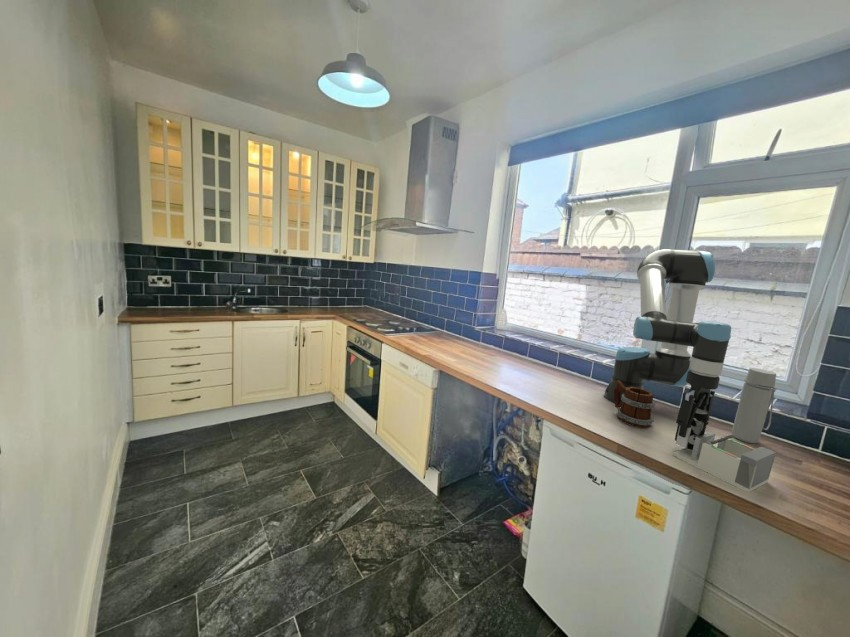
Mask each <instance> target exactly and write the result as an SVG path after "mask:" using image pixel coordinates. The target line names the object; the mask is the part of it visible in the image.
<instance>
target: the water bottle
mask: <svg viewBox="0 0 850 637" xmlns="http://www.w3.org/2000/svg"><path fill="white" fill-rule="evenodd" d="M776 379H777V373H776V372H773V371H771V370H767V369H761V368H755V367H750V368H748V371H747V374H746V377H745V379H744V383H743V387H742V390H741V394H740V398H739V403H738V405H737V406H738V407H737V411H736V413H735V416H734V417H735V418H734V422H733V425H732V430H731V435H733V436H734V437H733V438H735V439H737V440H739V441H742V442H744V443H748V444H758V443H759V442H760V439H761V436H762V433H763V432H762V431H763V430H765V431H768V430H769V428H770V426H771V424H772V414H773V406H774V397H775V393H776V391H777V390H778V388H777V387H775V386H776ZM769 409H770V411H769ZM768 412H769V413H768ZM768 414H769V420H768V424H767V426H766V428H765V427H764V426H765V423H766V419H767V415H768Z"/></svg>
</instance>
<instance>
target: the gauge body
mask: <svg viewBox="0 0 850 637" xmlns="http://www.w3.org/2000/svg"><path fill="white" fill-rule="evenodd" d="M723 437H724V436H721V437H720V438H723ZM725 441H726V443H725V447H724V450H722V449H719V448H717V446H714V445H713V446H711V445H708V444H706V443H703V444H702V448H701V453H700V457H699V459H697V460H694V459H692V458H691V455H692V451H693V450H690V449H687V448H682V449H679V450H676V451H673V452H672V456H673V455H674V456H673V457H675V456H676V457H675V458H678V459H679V460H682V461H684V462H685V463H688V464H689V465H691V466H693V467H696V468H698V469H699V470H701V471H704V472H706V473H707V472H708V473H707V474H710V475H711V476H713V477H716V478H718V479H719V480H722V481H724V482H726V483H728V484H730V485H732V486H734V487H735V488H738V489H740V490H742V491H744V492H746V493H750V492H752V491H754V490H756V489H758V488H759V487H762V486H763V485H765V484H767V483H769V479H770V475H771V471H772V468H773V464H774V461H775V457H776V453H777V452H776V451H774V450H771V449H769V448H766V447H763V446H759V447H757V448H754V447H752V446H750V445H747V444H744V443H743V442H742V443H741V442H739V441H737V440H734V439H733V438H730V439H727V440H725Z"/></svg>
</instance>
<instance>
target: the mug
mask: <svg viewBox="0 0 850 637" xmlns="http://www.w3.org/2000/svg"><path fill="white" fill-rule="evenodd" d="M616 383H617V387H615V389H614V400H615V403H614V407H615V408H617V412H616V415H617V418H618V419H619V421H620V422H622V423H624V424H626V425H629V426H632V427H635V428H641V429H644V428H645V429H646V428H650V427H651V425H652V424H653V422H654V421H655V420H654V419H653V417H652V410H653V408H655V406H656V403H655V401H654V393H652V392H651V391H649V390H647V389H645V388H643V389H639V388H636V387H627V388H626V387H624V386H623V384H622V382H621V381H620V380H617V381H616ZM622 392H624V394H622V396H621V395H620V394H621V393H622ZM621 400H622V402H621Z"/></svg>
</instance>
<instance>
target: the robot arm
mask: <svg viewBox="0 0 850 637" xmlns="http://www.w3.org/2000/svg"><path fill="white" fill-rule="evenodd" d="M715 272H716V260H715V257H714V255H713V254H712V253H711V252H709V251H703V250H687V249H671V248H670V249H667V248H664V249H659V250H655V251H654V252H652V253H649V254H648V255H647V256H645V257H644V258H643V259H642V260H641V262H640V263H639V265H638V266H637V271H636V274H637V275H636V276H637V280H639V284H640V288H639V289H640V292H639V293H640V316H637V317H636V318H635V320H634V325H633V328H632V330H633V331H632V335H633V336H634V338H636V339H639V340H640V339H641V340H644V341H650V342H658V343H661V345H660V346H659V347H657V348H656V349H655V353H653V352H651V351H650V350H649V349H648V348H646V347H645V348H644V347H638V346H623V347H621V348H618V349H617V351H616V355H615V357H614V360H615V361H614V365H613V371H612V376H611V380H610V382H609V383H608V385H607V387H606V388H605V389H604V395H603V397H604V398H605V399H607V400H608V401H610V402H612V403H614V404H615V400H614V389H615V387H617V383H616V381H617V380H620V381H621V382H622V384H623V386H624V387H626V388H627V387H636V388H639V389H644V382H645V381H646V382H651V383H657V384H661V385H662V384H663V385H667V386H670V387H679V388H680V387H681V388H683V387H686V386H687V385H688V384H689V385H690V388H689V390H688V391H687V392H683V393H682V395H681V396H682V398H681V404H680V407H679V410H678V414H677V417H676V422H675V423H676V424H677V425H678V424H679V425H680V427H679V431H678V435H677V440H676V441H675V444H676V445H677V446H679V447H681V448H682V449H684V448H687V445H688V440H689V436H690V432H691V428H690V425H691V423H692V420H693V418H694V415H695V413H696V410H697V408H698V409H701V410H706V411H707V416H708V421H710V416H711V411H712V405H713V401H714V396H715V394H716V391H714V390H717V389H718V388H719V384H720V379H721V378H720V376H722V373H723V367H724V364H725V358H726V354H727V350H728V347H729V342H730V339H731V336H732V335H731V334H732V333H731V332H732V326H731V325H730V324H728V323H726V322H725V323H724V322H718V321H713V320H701V321H699V322H694V318H695V312H696V308H697V303H698V298H699V295H700V294H699V293H700V290H701V291H702V289H703V288H706V284H707V283H711V282H712V281H713V279H714V276H715V274H716V273H715ZM665 280H668V285H669V286H670V287H671V294H670V299H669V303H668V309H667V303H666V302H667V301H666V291H665ZM689 347H692V352H691V354H690V353H689V351H688V348H689ZM622 394H624V392H622V393H621V394H620V395H621V396H622ZM621 402H622V400H621ZM708 421H707V425H706V426H708V425H709V422H708Z"/></svg>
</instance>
